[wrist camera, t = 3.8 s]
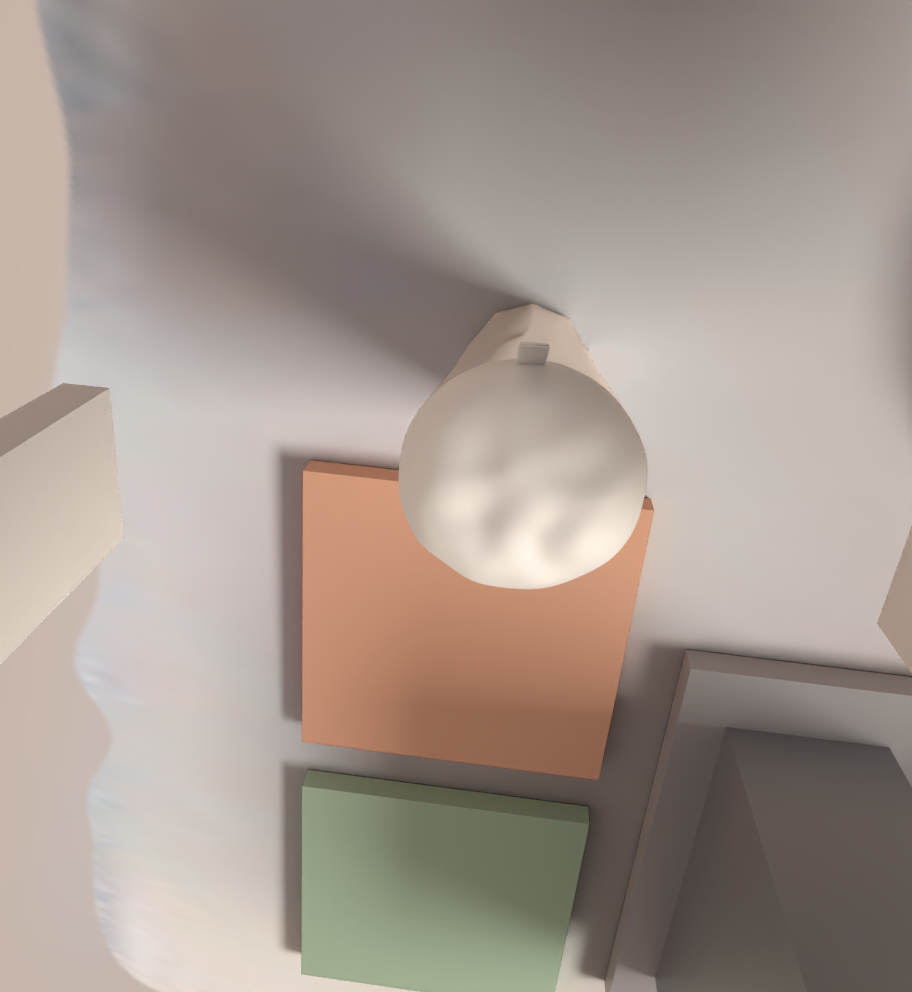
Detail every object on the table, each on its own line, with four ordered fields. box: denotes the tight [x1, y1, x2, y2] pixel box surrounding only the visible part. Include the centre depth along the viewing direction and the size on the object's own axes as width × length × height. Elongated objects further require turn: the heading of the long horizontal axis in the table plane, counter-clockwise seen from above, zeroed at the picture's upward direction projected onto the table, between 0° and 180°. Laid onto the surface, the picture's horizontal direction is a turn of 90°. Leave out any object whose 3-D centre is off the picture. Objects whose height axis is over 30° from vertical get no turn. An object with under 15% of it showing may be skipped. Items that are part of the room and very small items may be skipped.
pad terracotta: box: [302, 460, 654, 780], centre depth 26 cm, size 10×10×1 cm
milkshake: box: [399, 304, 647, 589], centre depth 18 cm, size 4×5×10 cm
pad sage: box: [301, 770, 589, 992], centre depth 31 cm, size 10×10×1 cm
